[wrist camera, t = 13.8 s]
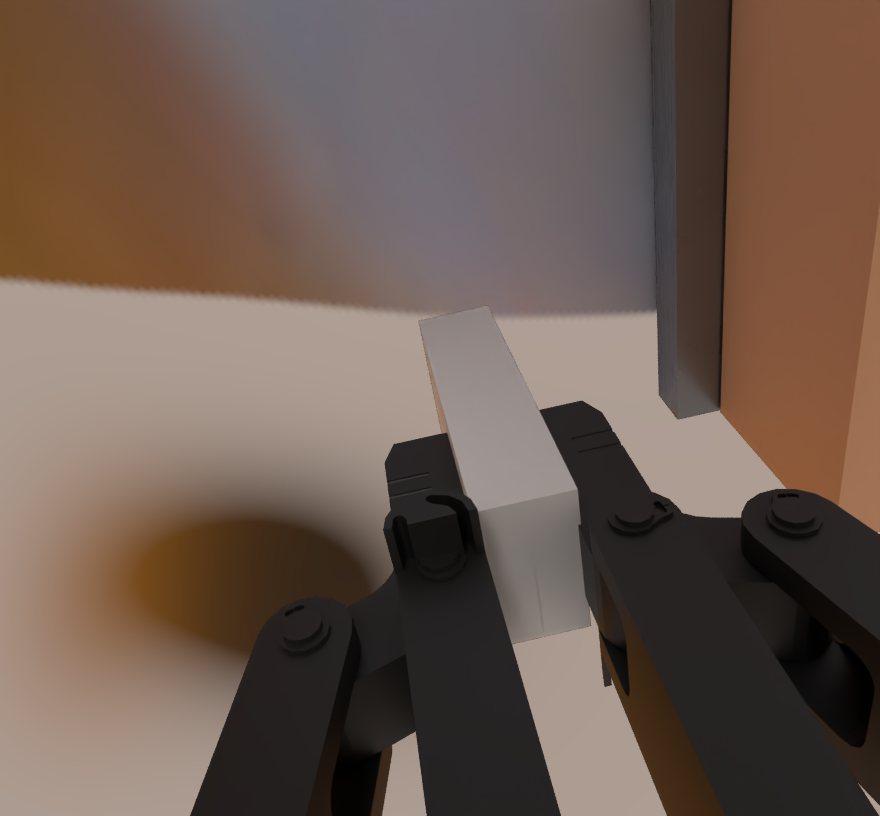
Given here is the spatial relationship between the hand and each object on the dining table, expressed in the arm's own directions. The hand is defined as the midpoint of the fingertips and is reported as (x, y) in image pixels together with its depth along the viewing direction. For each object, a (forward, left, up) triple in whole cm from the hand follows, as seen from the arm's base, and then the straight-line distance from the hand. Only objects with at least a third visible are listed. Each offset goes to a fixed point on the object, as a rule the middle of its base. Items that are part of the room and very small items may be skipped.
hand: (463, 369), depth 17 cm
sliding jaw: (+10, 0, -4) cm, 11 cm away
